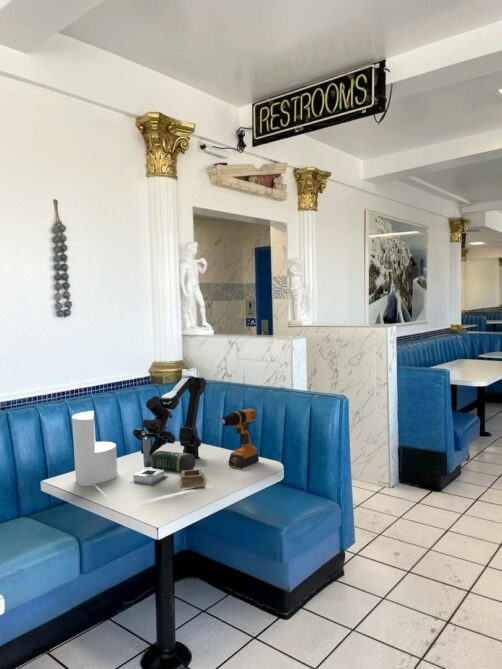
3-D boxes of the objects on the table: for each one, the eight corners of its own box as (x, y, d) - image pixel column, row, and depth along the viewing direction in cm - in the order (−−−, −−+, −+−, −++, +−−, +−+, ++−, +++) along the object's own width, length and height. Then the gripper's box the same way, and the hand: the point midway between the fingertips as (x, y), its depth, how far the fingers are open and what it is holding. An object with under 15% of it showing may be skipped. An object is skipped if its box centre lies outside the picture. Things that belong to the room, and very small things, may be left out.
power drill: (230, 474, 222) (228, 417, 221) (218, 470, 227) (215, 415, 225) (261, 461, 239) (260, 407, 237) (249, 458, 244) (247, 406, 242)
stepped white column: (74, 488, 212) (70, 421, 210) (77, 474, 229) (73, 412, 227) (118, 482, 217) (114, 417, 215) (117, 470, 233) (113, 408, 231)
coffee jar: (149, 470, 229) (185, 475, 221) (150, 452, 229) (185, 456, 222) (162, 466, 238) (197, 470, 230) (162, 449, 238) (197, 452, 230)
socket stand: (146, 475, 224) (146, 466, 224) (169, 478, 219) (169, 469, 219) (128, 484, 214) (128, 475, 213) (152, 488, 208) (152, 478, 208)
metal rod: (151, 463, 219) (150, 435, 218) (155, 466, 215) (153, 437, 214) (142, 465, 217) (141, 437, 216) (145, 468, 213) (144, 439, 212)
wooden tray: (180, 477, 221) (179, 467, 221) (203, 475, 222) (203, 466, 222) (179, 490, 205) (179, 480, 205) (204, 488, 206) (204, 478, 206)
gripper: (133, 410, 222) (118, 442, 213) (170, 412, 214) (155, 446, 205) (145, 423, 230) (131, 455, 220) (181, 426, 222) (168, 459, 213)
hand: (146, 453), depth 214 cm, fingers closed on metal rod, 4 cm apart
